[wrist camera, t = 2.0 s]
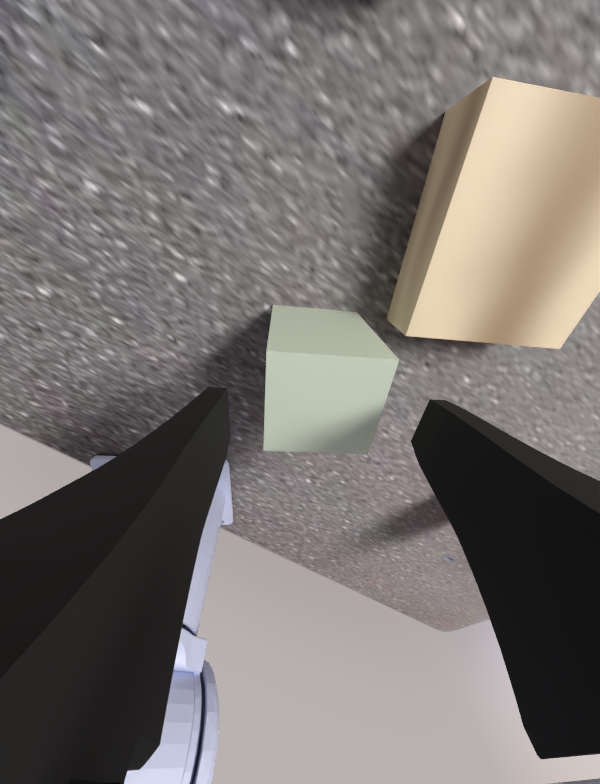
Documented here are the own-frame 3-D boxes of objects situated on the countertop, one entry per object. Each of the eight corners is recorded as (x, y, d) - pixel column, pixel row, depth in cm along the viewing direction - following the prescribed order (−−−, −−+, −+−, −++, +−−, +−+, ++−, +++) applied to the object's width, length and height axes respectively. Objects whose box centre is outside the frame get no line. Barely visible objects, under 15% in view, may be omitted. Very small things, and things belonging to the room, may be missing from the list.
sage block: (269, 379, 16) (263, 450, 11) (272, 304, 13) (266, 350, 8) (341, 383, 16) (367, 454, 11) (356, 312, 14) (399, 360, 9)
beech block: (384, 317, 14) (405, 336, 12) (440, 115, 10) (492, 77, 8) (513, 328, 15) (559, 348, 13) (616, 146, 11) (717, 121, 8)
